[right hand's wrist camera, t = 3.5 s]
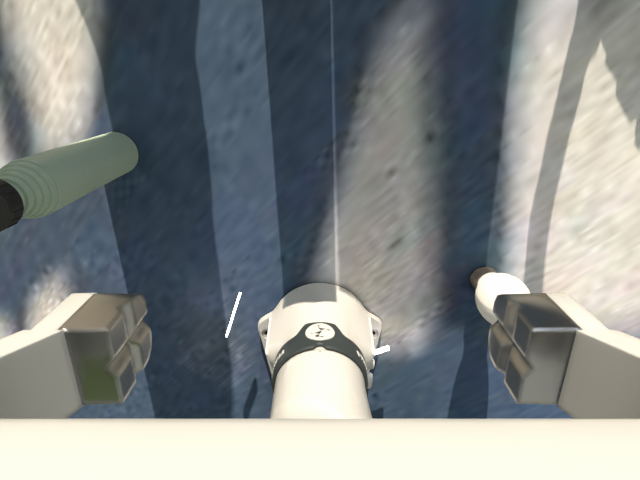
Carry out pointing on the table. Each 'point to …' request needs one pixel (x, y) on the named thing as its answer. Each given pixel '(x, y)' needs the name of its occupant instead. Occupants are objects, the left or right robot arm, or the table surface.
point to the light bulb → (493, 289)
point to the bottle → (69, 172)
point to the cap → (9, 205)
